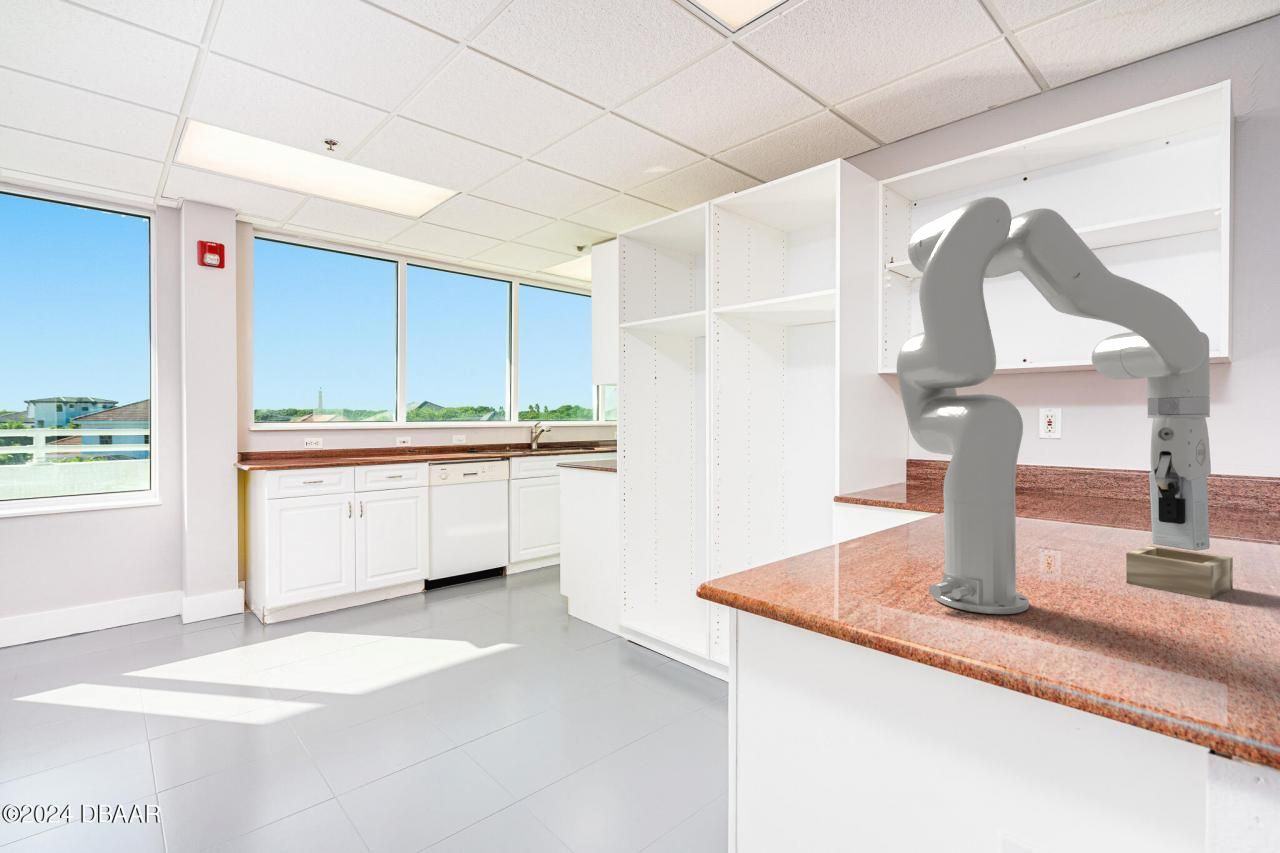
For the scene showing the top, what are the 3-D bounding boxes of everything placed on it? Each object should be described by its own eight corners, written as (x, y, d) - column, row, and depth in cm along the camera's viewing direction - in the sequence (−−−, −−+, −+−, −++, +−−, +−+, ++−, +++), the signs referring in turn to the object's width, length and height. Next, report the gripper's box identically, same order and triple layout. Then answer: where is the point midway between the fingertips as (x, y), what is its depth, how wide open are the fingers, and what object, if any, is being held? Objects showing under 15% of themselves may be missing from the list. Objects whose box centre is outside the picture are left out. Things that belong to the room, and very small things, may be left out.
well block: (1210, 599, 91) (1210, 566, 91) (1126, 582, 100) (1126, 553, 100) (1232, 588, 95) (1232, 557, 95) (1150, 574, 105) (1150, 545, 104)
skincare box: (1211, 549, 95) (1210, 473, 95) (1193, 551, 94) (1193, 474, 94) (1165, 541, 101) (1165, 470, 101) (1148, 544, 100) (1148, 471, 99)
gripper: (1187, 409, 89) (1188, 530, 90) (1228, 407, 98) (1228, 518, 98) (1126, 410, 96) (1127, 523, 96) (1169, 408, 105) (1170, 512, 105)
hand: (1178, 519), depth 97 cm, fingers closed on skincare box, 4 cm apart
